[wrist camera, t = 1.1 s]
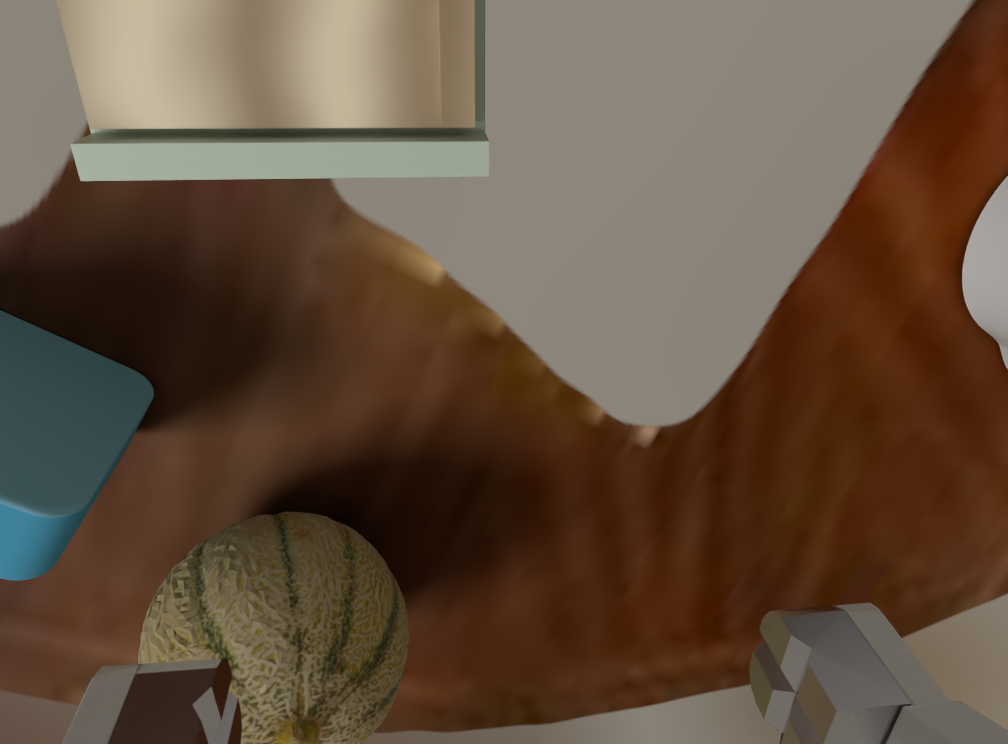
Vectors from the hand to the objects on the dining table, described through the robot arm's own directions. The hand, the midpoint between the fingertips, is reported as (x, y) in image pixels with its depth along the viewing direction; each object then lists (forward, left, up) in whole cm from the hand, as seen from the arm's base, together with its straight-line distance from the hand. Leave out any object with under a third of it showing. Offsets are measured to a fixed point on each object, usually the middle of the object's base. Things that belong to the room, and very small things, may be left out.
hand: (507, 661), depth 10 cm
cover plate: (+6, -8, -25) cm, 26 cm away
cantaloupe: (+10, +25, -30) cm, 40 cm away
